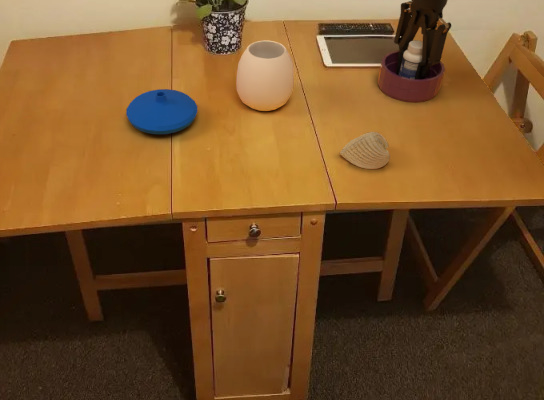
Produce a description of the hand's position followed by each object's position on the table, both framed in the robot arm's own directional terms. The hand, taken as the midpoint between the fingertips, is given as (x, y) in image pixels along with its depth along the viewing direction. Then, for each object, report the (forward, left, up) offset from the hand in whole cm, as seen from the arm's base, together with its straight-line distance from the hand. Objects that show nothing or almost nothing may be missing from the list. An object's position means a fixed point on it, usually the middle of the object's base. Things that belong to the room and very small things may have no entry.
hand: (409, 80), depth 139 cm
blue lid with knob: (+15, +58, -2) cm, 60 cm away
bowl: (0, 0, -2) cm, 2 cm away
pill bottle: (0, 0, -1) cm, 1 cm away
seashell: (-17, +26, -2) cm, 31 cm away
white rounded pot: (+11, +34, -2) cm, 36 cm away
